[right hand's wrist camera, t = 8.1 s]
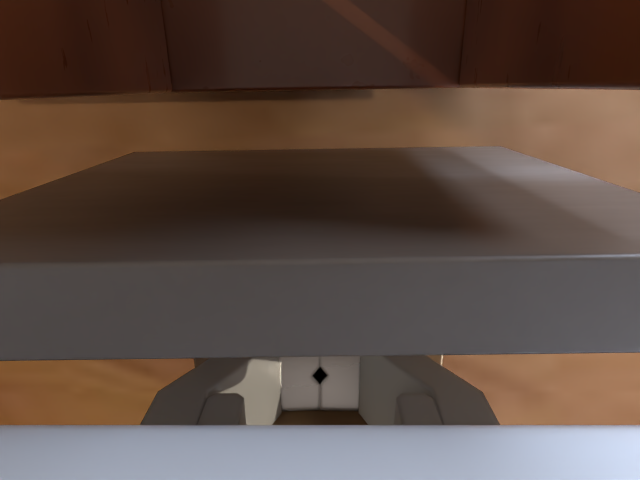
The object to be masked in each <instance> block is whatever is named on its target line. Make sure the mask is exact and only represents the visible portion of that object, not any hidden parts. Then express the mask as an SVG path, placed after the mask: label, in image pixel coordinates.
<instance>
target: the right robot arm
mask: <svg viewBox="0 0 640 480" xmlns="http://www.w3.org/2000/svg"><path fill="white" fill-rule="evenodd" d="M310 410H329V411H359V414H360V415H361V417H362V418H363V419H364V420H365V421H366V423H367V424H368V425H272V424H273V423H274V422H275V421H276V419H277V418H278V417H279V416H280V415H281V411H310ZM0 480H640V425H500V424H499V422H498V420H497V418H496V416H495V415H494V413H493V411H492V409H491V407H490V405H489V403H488V401H487V400H486V398H485V396H484V394H483V392H482V391H480V390H478V389H477V388H475V387H474V386H472V385H471V384H469V383H468V382H466V381H464V380H463V379H461V378H460V377H458V376H457V375H455V374H454V373H452V372H450V371H449V370H447V369H446V368H444V367H443V366H441V365H440V364H438V363H437V362H435V361H433V360H432V359H430V358H429V357H427V356H426V355H407V356H331V357H254V358H210V359H208V360H206V361H205V362H203V363H202V364H200V365H199V366H197V367H196V368H194V369H192V370H191V371H189V372H188V373H186V374H185V375H183V376H182V377H180V378H178V379H177V380H175V381H174V382H172V383H171V384H169V385H167V386H166V387H164V388H163V389H161V390H160V391H158V392H157V394H156V396H155V398H154V400H153V402H152V404H151V405H150V407H149V409H148V411H147V413H146V415H145V417H144V419H143V420H142V422H141V424H140V425H0Z"/></svg>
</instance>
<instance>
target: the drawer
mask: <svg viewBox="0 0 640 480" xmlns="http://www.w3.org/2000/svg"><path fill="white" fill-rule="evenodd" d="M405 88H537V89H618V90H640V0H0V100H13V99H35V98H58V97H80V96H103V95H125V94H148V93H169V92H228V91H287V90H346V89H405ZM637 352H640V193H639V192H636V191H633V190H630V189H627V188H624V187H621V186H618V185H615V184H612V183H609V182H606V181H603V180H600V179H597V178H594V177H591V176H588V175H585V174H582V173H579V172H576V171H573V170H570V169H567V168H564V167H561V166H558V165H555V164H552V163H549V162H546V161H543V160H540V159H537V158H534V157H531V156H528V155H525V154H522V153H519V152H516V151H513V150H510V149H507V148H504V147H501V146H484V147H422V148H360V149H297V150H235V151H173V152H133V153H130V154H128V155H125V156H122V157H119V158H116V159H114V160H111V161H108V162H105V163H102V164H100V165H97V166H94V167H91V168H88V169H86V170H83V171H80V172H77V173H74V174H71V175H69V176H66V177H63V178H60V179H57V180H55V181H52V182H49V183H46V184H43V185H41V186H38V187H35V188H32V189H29V190H27V191H24V192H21V193H18V194H15V195H13V196H10V197H7V198H4V199H1V200H0V361H24V360H101V359H177V358H194V364H195V368H196V367H197V366H199V365H200V364H202V363H203V362H205V361H206V360H208V359H210V358H254V357H331V356H407V355H426V356H427V357H429V358H430V359H432V360H433V361H435V362H437V363H438V364H440V365H441V366H442V363H443V355H484V354H561V353H637ZM272 425H368V424H367V423H366V421H365V420H364V419H363V418H362V417H361V415H360V414H359V411H329V410H310V411H281V415H280V416H279V417H278V418H277V419H276V421H275V422H274V423H273V424H272Z"/></svg>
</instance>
